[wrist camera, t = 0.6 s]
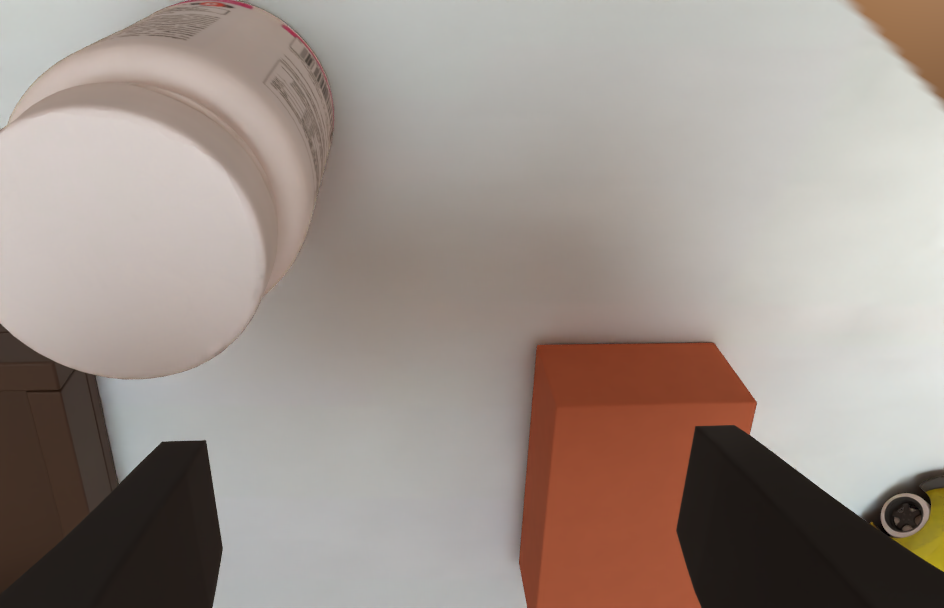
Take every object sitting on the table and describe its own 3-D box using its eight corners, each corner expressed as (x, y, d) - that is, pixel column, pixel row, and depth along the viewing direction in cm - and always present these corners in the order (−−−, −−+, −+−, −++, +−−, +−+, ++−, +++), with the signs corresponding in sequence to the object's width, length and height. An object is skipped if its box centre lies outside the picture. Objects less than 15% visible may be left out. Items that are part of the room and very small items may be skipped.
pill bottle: (94, 154, 18) (-120, 330, 11) (158, -47, 16) (-42, -6, 9) (290, 237, 19) (223, 446, 12) (369, 59, 18) (350, 174, 10)
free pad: (714, 341, 22) (758, 402, 19) (671, 556, 25) (703, 633, 23) (536, 343, 21) (555, 406, 19) (518, 562, 25) (532, 641, 22)
